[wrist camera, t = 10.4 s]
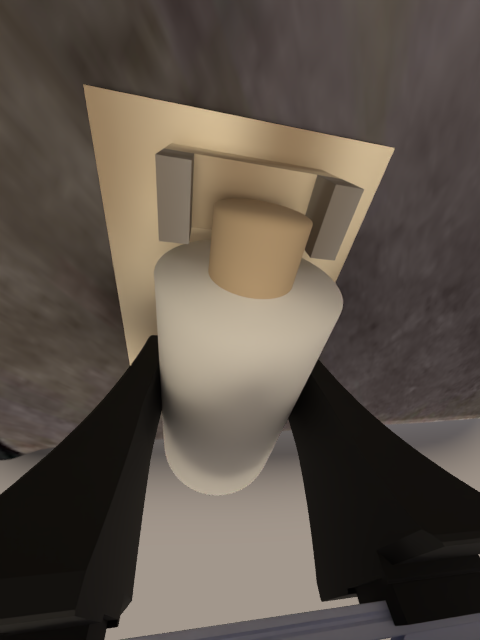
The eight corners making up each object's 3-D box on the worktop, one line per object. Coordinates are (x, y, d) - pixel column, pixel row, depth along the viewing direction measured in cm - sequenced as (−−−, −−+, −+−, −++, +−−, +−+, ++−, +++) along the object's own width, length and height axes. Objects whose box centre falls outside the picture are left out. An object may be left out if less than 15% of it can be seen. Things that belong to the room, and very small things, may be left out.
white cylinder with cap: (325, 200, 9) (428, 275, 4) (255, 407, 16) (270, 504, 12) (166, 175, 8) (118, 241, 4) (171, 407, 15) (157, 512, 11)
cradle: (382, 146, 9) (468, 159, 6) (277, 398, 19) (291, 452, 16) (93, 87, 8) (15, 66, 5) (139, 397, 17) (124, 457, 14)
